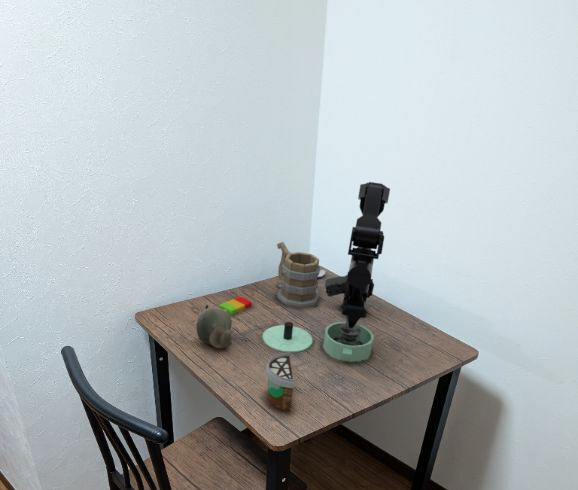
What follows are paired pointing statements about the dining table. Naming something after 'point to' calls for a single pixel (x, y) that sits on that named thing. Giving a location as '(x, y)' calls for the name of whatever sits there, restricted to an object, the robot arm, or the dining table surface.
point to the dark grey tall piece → (349, 334)
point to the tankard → (298, 278)
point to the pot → (347, 351)
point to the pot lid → (287, 338)
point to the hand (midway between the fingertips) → (351, 324)
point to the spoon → (318, 275)
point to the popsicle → (235, 305)
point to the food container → (280, 382)
